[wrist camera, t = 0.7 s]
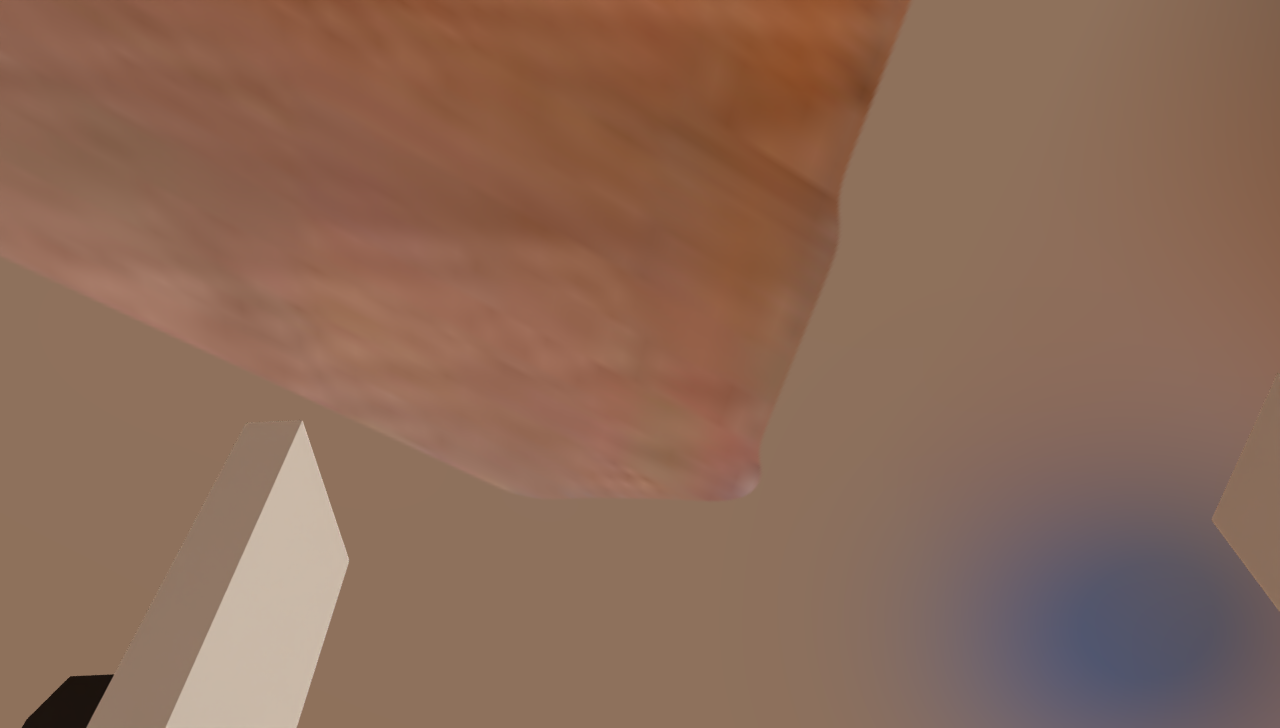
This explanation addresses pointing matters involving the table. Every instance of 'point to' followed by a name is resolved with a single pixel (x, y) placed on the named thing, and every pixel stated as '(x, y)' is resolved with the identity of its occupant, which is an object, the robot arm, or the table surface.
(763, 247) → the table surface
